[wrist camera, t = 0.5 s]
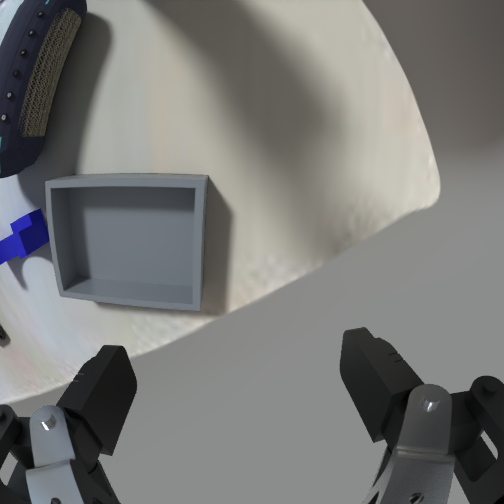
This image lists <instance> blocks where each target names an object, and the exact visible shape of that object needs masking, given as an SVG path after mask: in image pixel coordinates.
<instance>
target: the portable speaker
mask: <svg viewBox="0 0 504 504" xmlns="http://www.w3.org/2000/svg"><path fill="white" fill-rule="evenodd" d="M86 11H87V3H86V0H24V1H23V3H22V4H21V5H20V6H19V8H18V10H17V12H16V13H15V15H14V17H13V19H12V21H11V23H10V25H9V28H8V30H7V32H6V34H5V36H4V39H3V41H2V43H1V46H0V178H5V177H9V176H12V175H15V174H18V173H19V172H21V171H22V170H23V169H25V168H26V167H28V166H30V165H32V164H34V162H35V161H36V159H37V157H38V156H39V154H40V153H41V151H42V146H43V141H44V137H45V131H46V126H47V121H48V117H49V112H50V108H51V104H52V100H53V97H54V93H55V90H56V86H57V83H58V80H59V77H60V74H61V71H62V68H63V65H64V62H65V59H66V57H67V54H68V51H69V49H70V46H71V44H72V42H73V39H74V37H75V35H76V32H77V30H78V28H79V26H80V24H81V22H82V20H83V17H84V15H85V13H86ZM66 46H67V47H66ZM54 84H55V85H54Z"/></svg>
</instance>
